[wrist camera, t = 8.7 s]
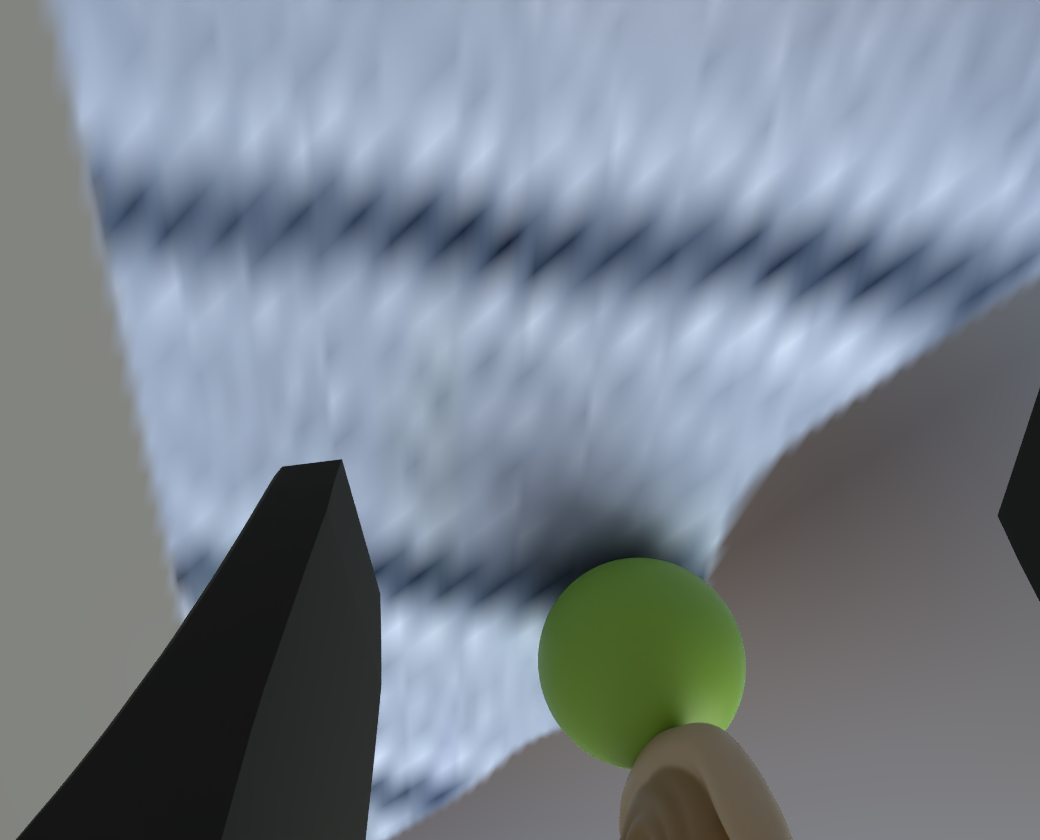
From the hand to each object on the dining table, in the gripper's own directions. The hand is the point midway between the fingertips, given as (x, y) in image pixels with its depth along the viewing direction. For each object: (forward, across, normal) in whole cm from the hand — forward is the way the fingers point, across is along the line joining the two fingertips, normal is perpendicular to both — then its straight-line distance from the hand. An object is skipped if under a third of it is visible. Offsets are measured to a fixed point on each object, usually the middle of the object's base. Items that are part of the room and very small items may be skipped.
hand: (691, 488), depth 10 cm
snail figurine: (+11, -1, +13) cm, 17 cm away
